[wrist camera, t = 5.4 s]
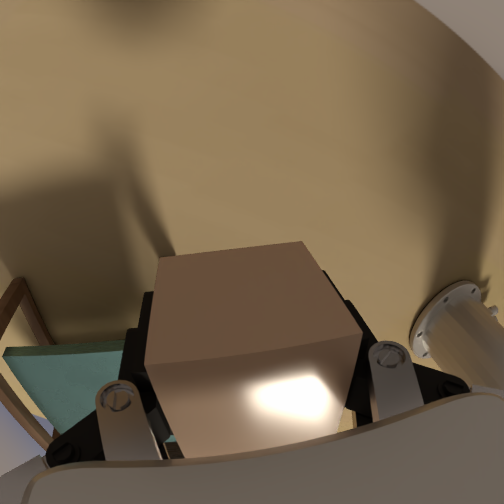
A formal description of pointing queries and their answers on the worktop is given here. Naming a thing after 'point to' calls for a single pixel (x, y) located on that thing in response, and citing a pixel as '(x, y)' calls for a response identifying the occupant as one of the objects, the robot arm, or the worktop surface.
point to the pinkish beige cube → (249, 349)
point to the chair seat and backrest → (69, 379)
